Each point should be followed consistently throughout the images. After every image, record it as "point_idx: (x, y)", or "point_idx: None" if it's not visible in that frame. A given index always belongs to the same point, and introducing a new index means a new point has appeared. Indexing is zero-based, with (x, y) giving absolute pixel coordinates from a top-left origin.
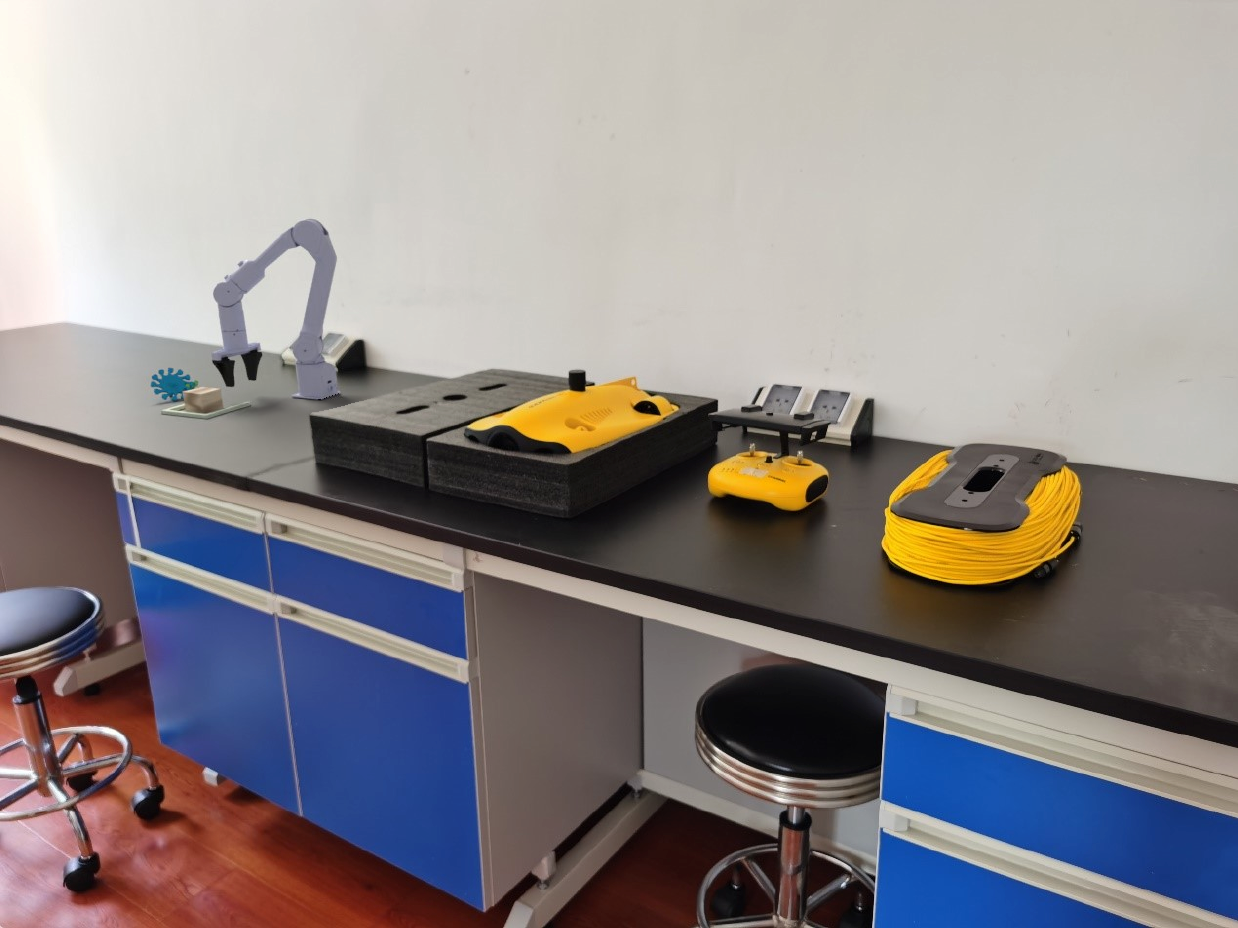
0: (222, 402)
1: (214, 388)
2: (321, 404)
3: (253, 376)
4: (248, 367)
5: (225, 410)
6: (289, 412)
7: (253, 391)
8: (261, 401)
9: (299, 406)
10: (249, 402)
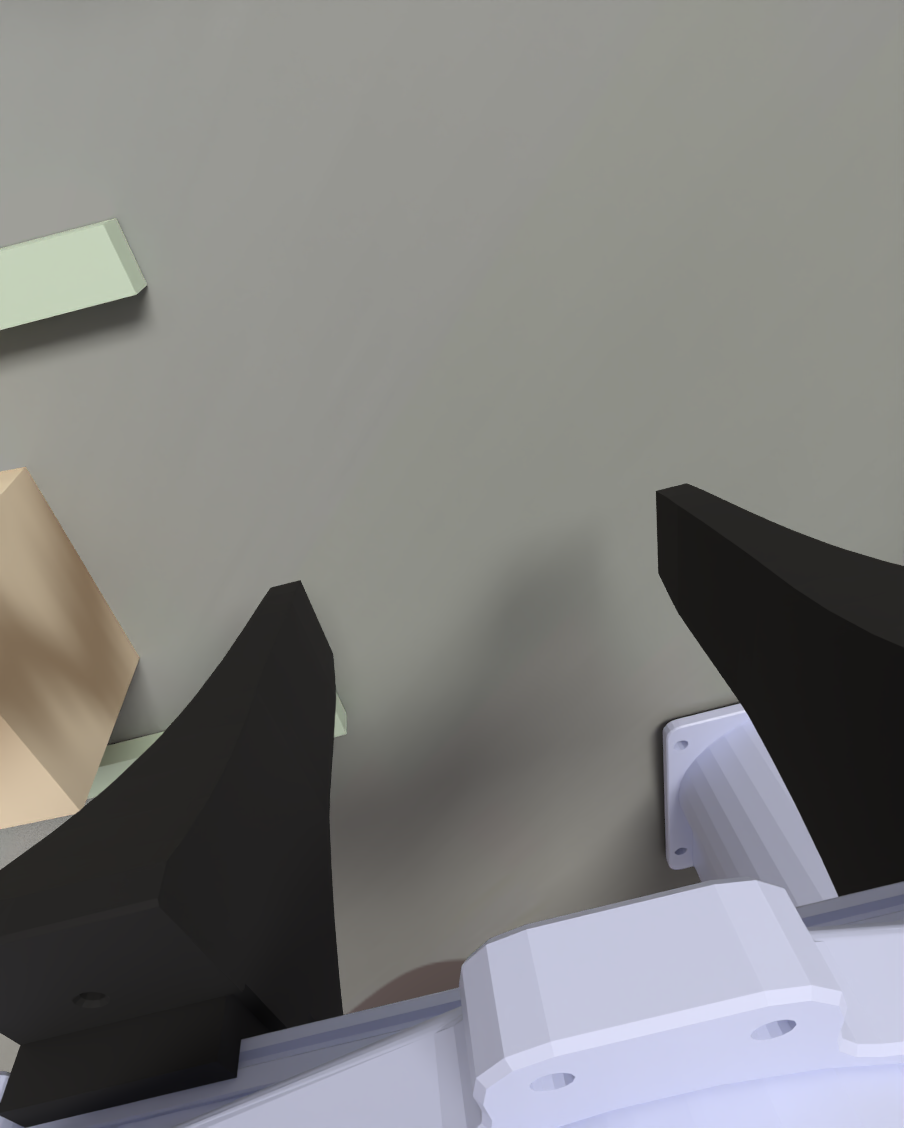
0: (121, 699)
1: (25, 762)
2: (596, 906)
3: (679, 600)
4: (751, 616)
5: (90, 793)
6: (390, 934)
7: (754, 255)
8: (474, 671)
9: (508, 883)
10: (339, 734)
